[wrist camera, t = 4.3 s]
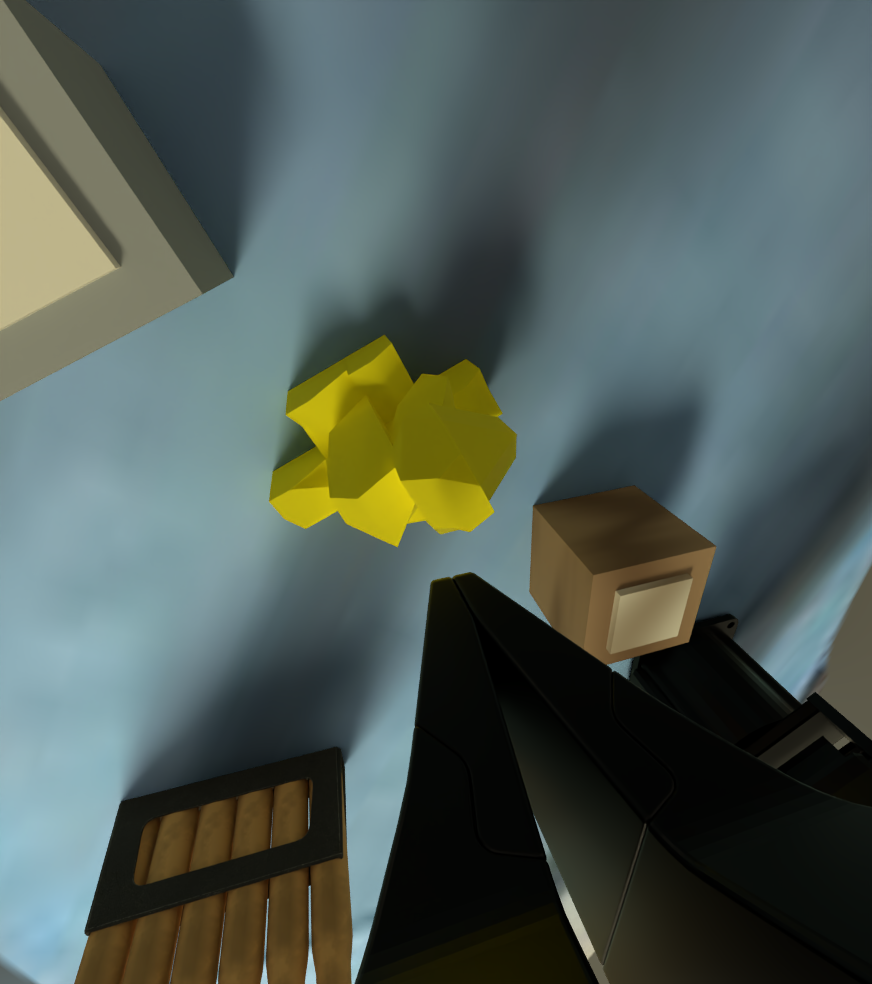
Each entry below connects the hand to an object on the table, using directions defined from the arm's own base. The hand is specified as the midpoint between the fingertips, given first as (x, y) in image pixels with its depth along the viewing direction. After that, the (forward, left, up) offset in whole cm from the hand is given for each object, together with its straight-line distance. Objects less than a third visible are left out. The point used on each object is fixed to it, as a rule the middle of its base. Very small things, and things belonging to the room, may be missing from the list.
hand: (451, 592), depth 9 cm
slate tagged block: (+7, -7, -9) cm, 13 cm away
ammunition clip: (+10, +18, -9) cm, 23 cm away
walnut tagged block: (-9, +7, -9) cm, 14 cm away
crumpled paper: (0, 0, -9) cm, 9 cm away
